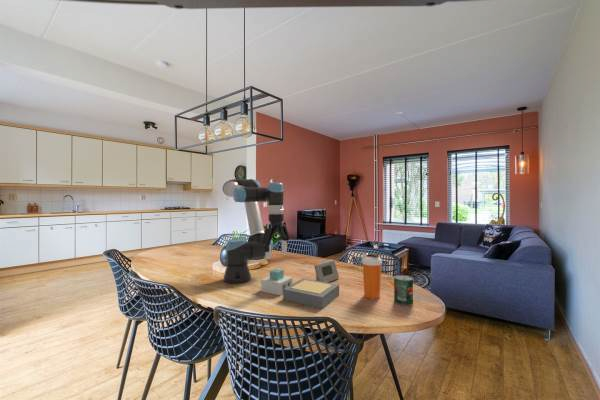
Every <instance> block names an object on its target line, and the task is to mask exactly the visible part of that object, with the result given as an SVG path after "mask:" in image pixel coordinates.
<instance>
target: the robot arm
mask: <svg viewBox="0 0 600 400" xmlns="http://www.w3.org/2000/svg"><path fill="white" fill-rule="evenodd" d="M222 192H223V194H224V195H225V196H227V197H229V198H233V201H234V202H235V203H244V206H245V213H246V217H247V224H248V229H249V230H248V231H249V236H248V238H247V236H246V237H244V236H243V237H242V236H241V237H240V236H239V237H236V238H232V239H229V240H228V241H227V242H226V247H225V251H226V269H225V273H224V275H223V282H225V283H227V284H241V283H247V282H249V281H250V280H251V279H252V275H251V274H252V273H251V272H250V268H249V265H248V261H249V260H258V259H268V260H270V259H272V255H273V254H272V253H273V247H274V242H273V238H274V236H275V234H276V233H278V234H279V236H280V237H281V239H282V240H281V254H288V252H287V251H288V248H287V247H288V241H289V239H290V235H289V232H288V227H287V223H286V222H285V221H284V220H285V219H284V214H283V213H284V184H283V183H282V182H269V183H268V184H267V187H265V186H264V187H261V184H260V182H259V181H258V180H257V179H252V178H250V179H247V178H245V179H244V178H243V179H242V178H234V179H230V180H227V181H225V182H224V183H223V185H222ZM259 202H260V203H262V202H263V203H264V202H265V203H266V202H267V203H268V207H267V208H268V209H267V210H268V211H267V213H268V222H270V223H269V224H265V230H264V224H263V219H262V215H261V214H262V213H261V210H260V205H259Z"/></svg>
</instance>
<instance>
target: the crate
mask: <svg viewBox="0 0 600 400" xmlns="http://www.w3.org/2000/svg"><path fill="white" fill-rule="evenodd" d="M284 272H285V271H284V269H278V268H275V269H272V270H270V271H269V276H270V279H272V280H277V281H278V280H280V279H282V278H284V276H285V273H284Z"/></svg>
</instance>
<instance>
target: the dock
mask: <svg viewBox="0 0 600 400" xmlns="http://www.w3.org/2000/svg"><path fill="white" fill-rule="evenodd" d="M339 296H340V284H337V283H332V282H329V283H327V282H321V281H316V279H309V278H303V277H302V278H301V279H299V280H297V281H295V282H294V283H293V282H292V285H290V286H288V287H286V288H284V289H283V295H282V300H283V301H287V302H291V303H295V304H299V305H303V306H308V307H313V308H317V309H320V310H323V309H324V308H326V306H328V305H329V304H331V302H333V301H334V300H335V299H336V298H338V297H339Z"/></svg>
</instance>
